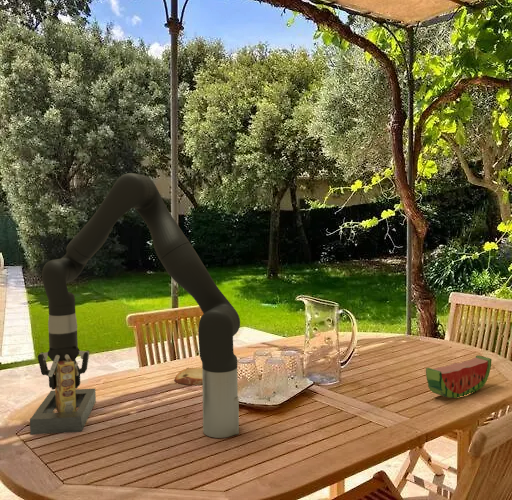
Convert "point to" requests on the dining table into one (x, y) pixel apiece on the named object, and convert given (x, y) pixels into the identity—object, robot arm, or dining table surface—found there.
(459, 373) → the fruit slice
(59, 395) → the candy box
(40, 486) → the dining table surface
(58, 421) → the rectangular frame
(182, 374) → the bread slice
